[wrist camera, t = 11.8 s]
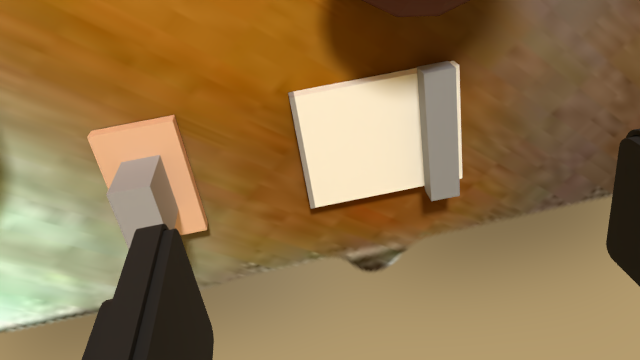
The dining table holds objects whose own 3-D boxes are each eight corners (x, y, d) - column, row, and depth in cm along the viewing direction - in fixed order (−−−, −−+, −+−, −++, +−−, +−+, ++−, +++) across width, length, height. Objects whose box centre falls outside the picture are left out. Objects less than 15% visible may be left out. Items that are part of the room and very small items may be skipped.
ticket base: (453, 54, 41) (467, 65, 39) (457, 176, 46) (470, 193, 44) (286, 86, 41) (289, 99, 38) (310, 206, 46) (314, 224, 43)
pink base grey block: (174, 114, 41) (163, 148, 35) (207, 222, 45) (202, 266, 40) (91, 130, 40) (67, 167, 35) (133, 237, 45) (118, 283, 40)
